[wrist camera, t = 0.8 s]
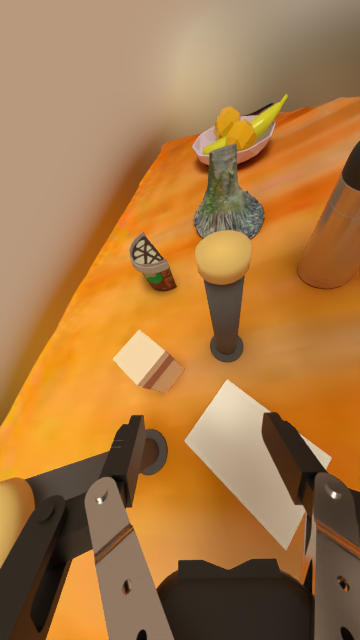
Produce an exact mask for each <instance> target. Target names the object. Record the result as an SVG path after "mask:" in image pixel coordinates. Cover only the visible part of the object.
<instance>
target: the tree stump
mask: <svg viewBox="0 0 360 640" xmlns="http://www.w3.org/2000/svg"><path fill="white" fill-rule="evenodd" d="M237 151H238V150H237V144H232V145H228V146H225V147H222V148H219V149H216V150H213V151H211V152H209V174H208V187H207V190H206V193H205V196H204V199H203V202H201V205H199V209H198V210H197V211H196V212H195V214H194V218H195V219H194V220H193V222H194V223H195V224H196V225H195V226H196V229H197V231H198V233H199V235H200V237H201V238H203V239H204V238H205V237H206V236H208V235H210V234H212V233H215V232H218V231H224V230H232V231H238V232H241V233H243V234H244V235H246V236H247V237H248V238H249V239H252V238H253V237H255V236H256V234H257V233H258V232H259V230H260V228H261V225H262V223H263V220H264V218H265V217H264V209H263V206H262V205H261V204H260V203H258V201H257V200H256V199H255V197H251V195H250V194H249V193H248V191H244V192H243V191H242V188H240V187H239V184H238V178H237Z"/></svg>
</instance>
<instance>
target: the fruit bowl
mask: <svg viewBox="0 0 360 640" xmlns="http://www.w3.org/2000/svg"><path fill="white" fill-rule="evenodd" d="M287 98H288V95H287V94H286V95H285V96H284V97H283V99H282V100H281V101H280V103H279V102H278V103H276V104H275V105H273V106H272V107H270V108H269V109H267V110H266V111H264V112H263V113H261V114H260V115H258V116H241V117H240V113H239V112H237V111H236V110H235V109H234V108H232V107H231V106H230V107H226V108H223V109H222V111H221V113H220V114H219V115H218V117H217V119H216V123H215V126H213V127H212V128H210V129H209V130H207V131H205V132H203V133H202V134H200V135H199V137H198V138H197V140H196V141H195V143H194V144H193V146H192V148H193V149H194V151H195V153H196V155H197V157H198V158H199V160H200V162H202V163H204V164H207V165H209V152H211V151H213V150H216V149H219V148H222V147H225V146H228V145H232V144H237V150H238V151H237V164H239V163H242V162H245V161H247V160H249V159H250V158H252V157H254V156H255V155H257V154H258V153H259V152H260V151H261V150H262V149H263V148H264V147H265V146H266V145H267V143H268V141H269V139H270V137H271V134H272V132H273V129H274V127H275V124H276V122H274V121H273V120H274V119H275V117H276V116H277V114H278V112H279V111H280V109H281V106H282V105H283V103H284V102H285V101H286V99H287Z"/></svg>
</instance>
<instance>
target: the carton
mask: <svg viewBox="0 0 360 640" xmlns="http://www.w3.org/2000/svg"><path fill="white" fill-rule="evenodd" d="M113 360H114V361H115V362H116V363H117V364H118V366H119V367H120V368H121V369H122V370H123V371H124V372H125V373H126V374H127V375H128V376H129V377H130V378H131V379H132V380H133V381H134V382H135V383H136V384H137V385H138V386H142V387H143V388H147V389H153V390H156V391H160V392H163V393H167V392H168V391H169V389H170V388H171V387H172V385H173V384H174V383H175V381H176V380H177V379H178V378H179V376H180V375H181V374H182V372H183V371H184V370H185V369H184V368H183V367H182V366H181V365H180V364H179V363H178V362H177V361H175V360H174V358H173V357H172V356H171V355H170V354H168V353H167V352H166V351H165V350H163V349H162V348H161V347H160V346H159V345H157V344H156V343H155V342H154V341H152V340H151V339H150V338H149V337H148V336H146V335H145V334H144V333H143V332H141V331H140V330H138V331H137V333H136V334H135V335H134V336H133V337H132V338H131V339H130V340H129V342H128V343H127V344H126V345H125V346H124V347H123V348H122V349H121V351H120V352H119V353H118V354H117V355H116V356H115V357H114V358H113Z"/></svg>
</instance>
